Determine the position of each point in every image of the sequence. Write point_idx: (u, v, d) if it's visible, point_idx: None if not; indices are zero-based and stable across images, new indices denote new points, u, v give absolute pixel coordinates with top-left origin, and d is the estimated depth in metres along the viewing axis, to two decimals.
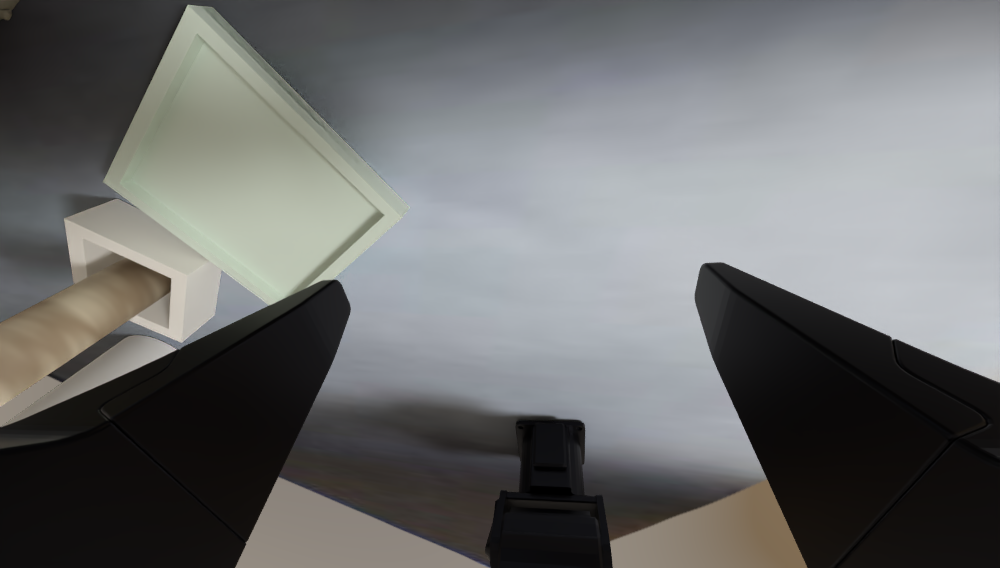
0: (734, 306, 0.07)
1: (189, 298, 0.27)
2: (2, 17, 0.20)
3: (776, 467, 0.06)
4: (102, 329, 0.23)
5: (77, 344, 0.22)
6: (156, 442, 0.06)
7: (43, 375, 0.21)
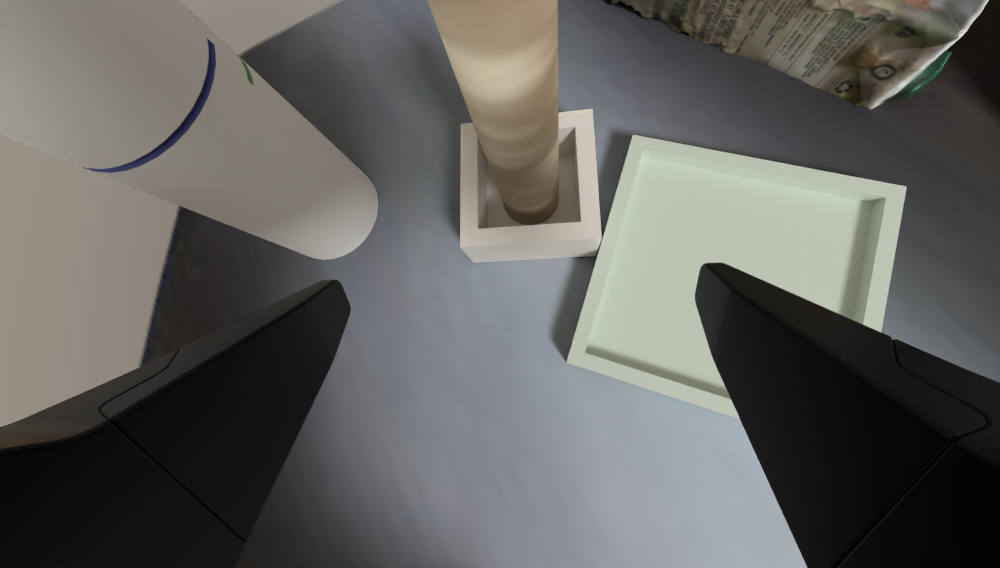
0: (734, 306, 0.07)
1: (548, 244, 0.20)
2: (726, 48, 0.24)
3: (776, 467, 0.06)
4: (527, 173, 0.16)
5: (527, 155, 0.15)
6: (156, 443, 0.06)
7: (502, 129, 0.13)
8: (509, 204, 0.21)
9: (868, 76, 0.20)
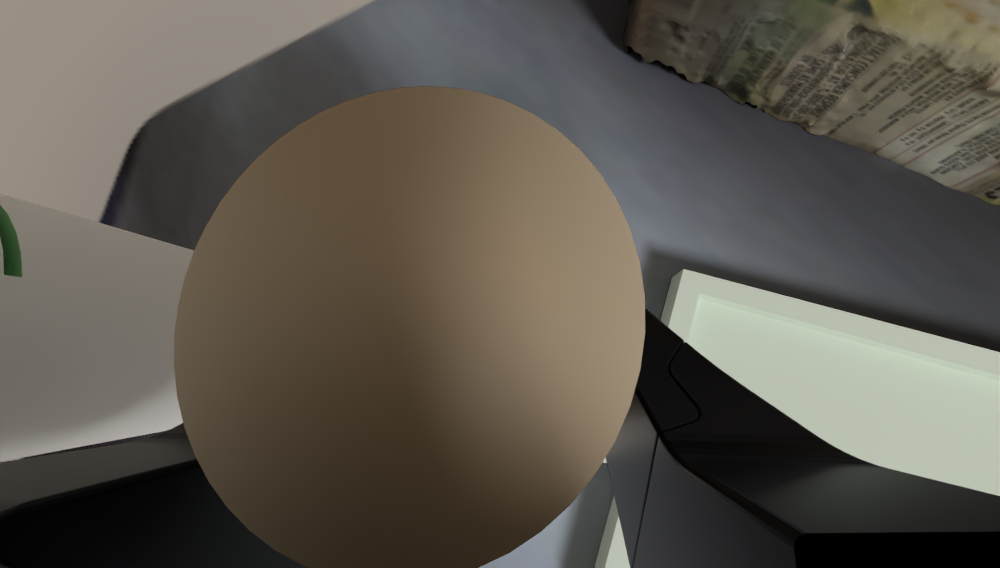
0: None
1: None
2: (813, 128, 0.16)
3: (611, 461, 0.07)
4: None
5: None
6: None
7: None
8: None
9: None
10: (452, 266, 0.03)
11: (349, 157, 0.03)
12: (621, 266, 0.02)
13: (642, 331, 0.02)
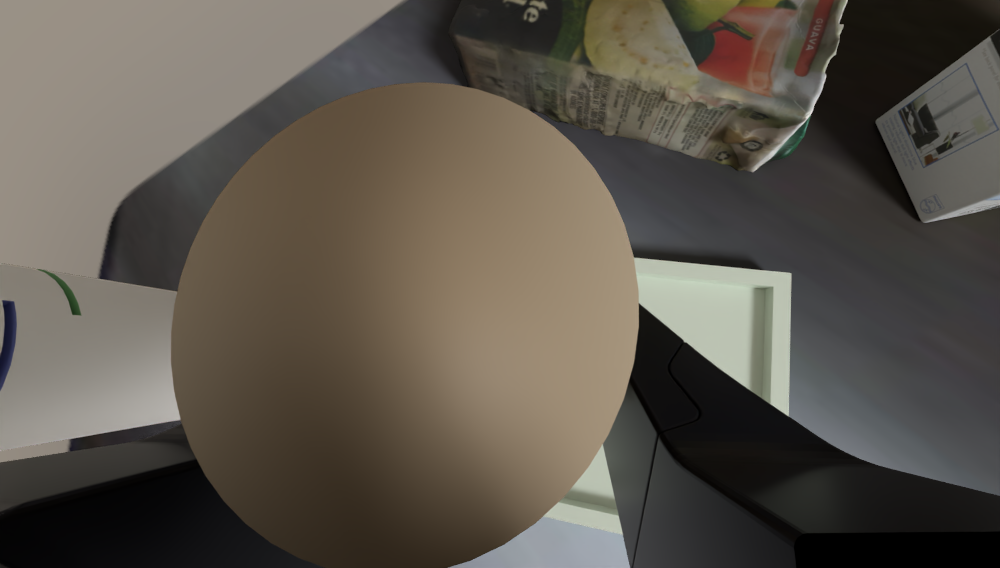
0: None
1: None
2: (605, 131, 0.23)
3: (611, 461, 0.07)
4: None
5: None
6: None
7: None
8: None
9: (740, 148, 0.20)
10: (447, 261, 0.03)
11: (347, 154, 0.03)
12: (615, 260, 0.02)
13: (636, 325, 0.02)
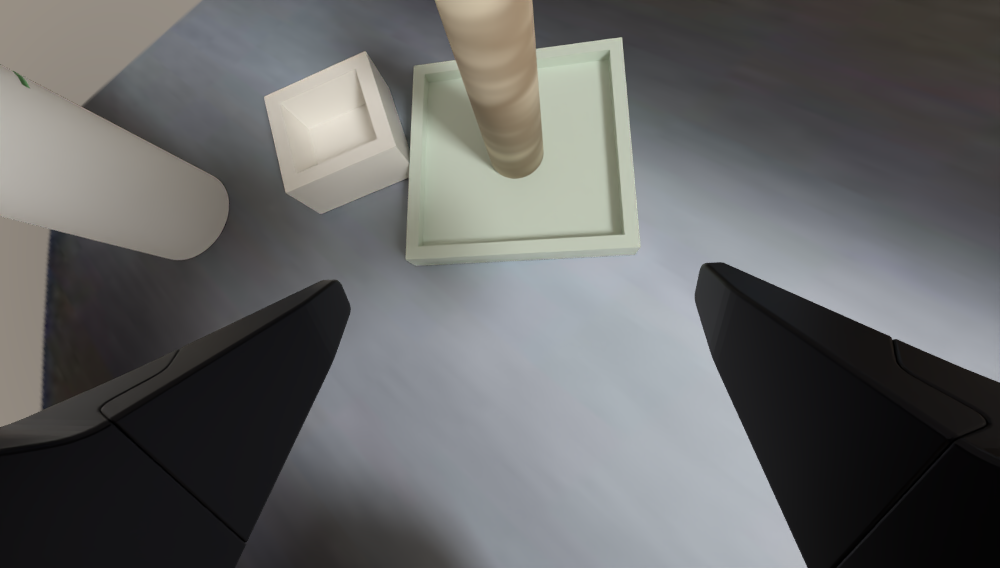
0: (734, 306, 0.07)
1: (358, 166, 0.23)
2: None
3: (776, 467, 0.06)
4: (507, 110, 0.17)
5: (505, 87, 0.16)
6: (155, 443, 0.06)
7: (479, 54, 0.14)
8: (494, 153, 0.21)
9: None
10: None
11: None
12: None
13: None
